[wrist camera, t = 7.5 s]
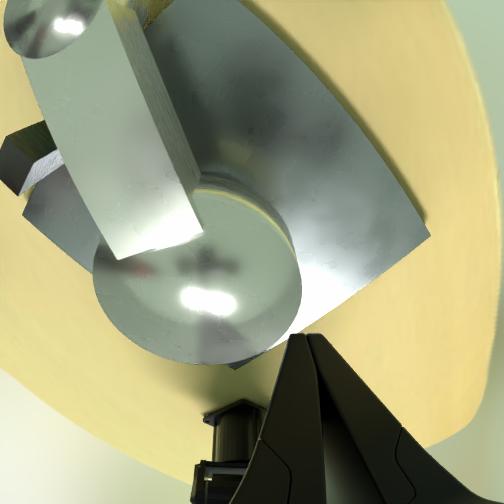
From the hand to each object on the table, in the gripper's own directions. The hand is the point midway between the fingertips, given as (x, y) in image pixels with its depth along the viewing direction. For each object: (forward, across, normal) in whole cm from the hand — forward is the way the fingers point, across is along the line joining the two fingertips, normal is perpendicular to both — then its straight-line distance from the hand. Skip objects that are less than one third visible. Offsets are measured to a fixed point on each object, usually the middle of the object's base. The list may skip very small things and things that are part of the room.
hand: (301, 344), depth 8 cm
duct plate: (+11, +4, +1) cm, 12 cm away
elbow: (+9, +6, -3) cm, 11 cm away
